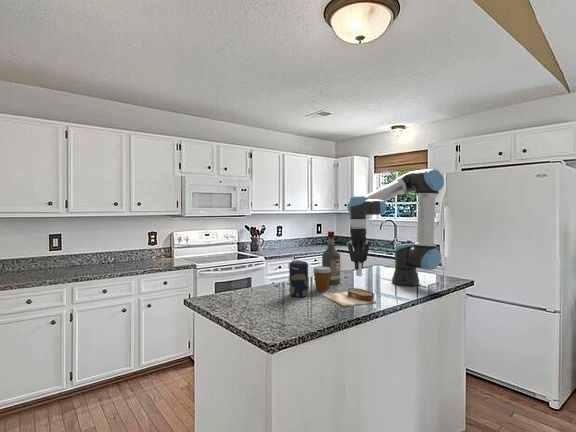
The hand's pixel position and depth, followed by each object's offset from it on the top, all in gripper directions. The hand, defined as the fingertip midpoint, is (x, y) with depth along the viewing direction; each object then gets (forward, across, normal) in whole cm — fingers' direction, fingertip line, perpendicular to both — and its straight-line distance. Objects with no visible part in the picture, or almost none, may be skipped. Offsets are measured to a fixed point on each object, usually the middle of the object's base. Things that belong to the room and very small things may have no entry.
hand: (359, 275), depth 171 cm
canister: (+11, +26, -15) cm, 32 cm away
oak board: (+11, +6, 0) cm, 13 cm away
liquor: (+11, -3, -35) cm, 37 cm away
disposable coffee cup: (+11, +10, -21) cm, 26 cm away
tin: (+10, -4, 0) cm, 11 cm away
